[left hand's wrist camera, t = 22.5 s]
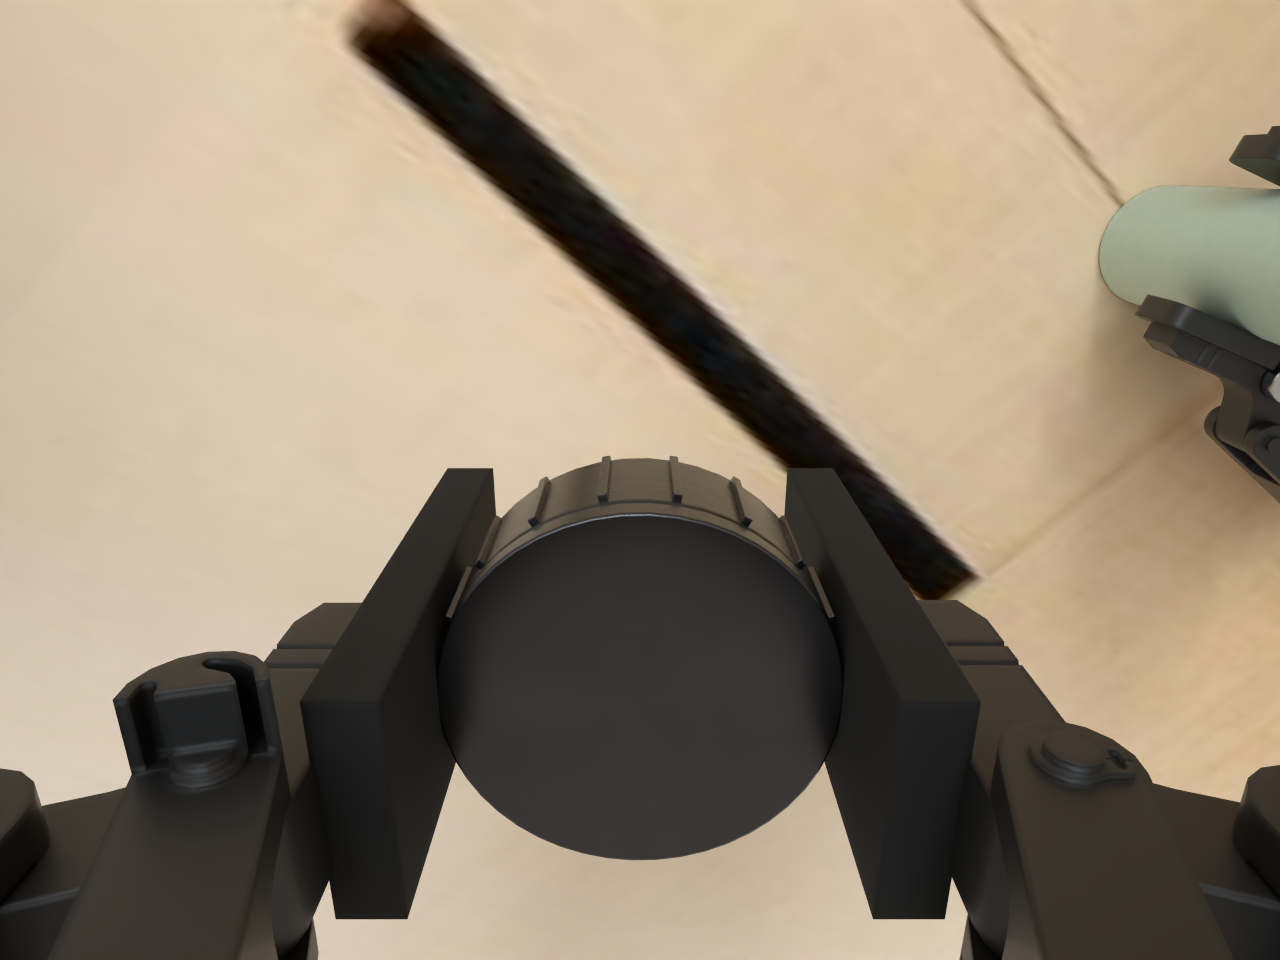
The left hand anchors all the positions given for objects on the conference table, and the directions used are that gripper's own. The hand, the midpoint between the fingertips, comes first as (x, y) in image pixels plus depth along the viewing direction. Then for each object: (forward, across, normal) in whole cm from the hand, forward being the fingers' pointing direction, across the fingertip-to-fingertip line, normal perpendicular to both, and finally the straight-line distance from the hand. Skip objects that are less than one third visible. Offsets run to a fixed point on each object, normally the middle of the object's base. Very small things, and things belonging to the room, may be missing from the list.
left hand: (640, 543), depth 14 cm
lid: (-4, 0, 0) cm, 4 cm away
